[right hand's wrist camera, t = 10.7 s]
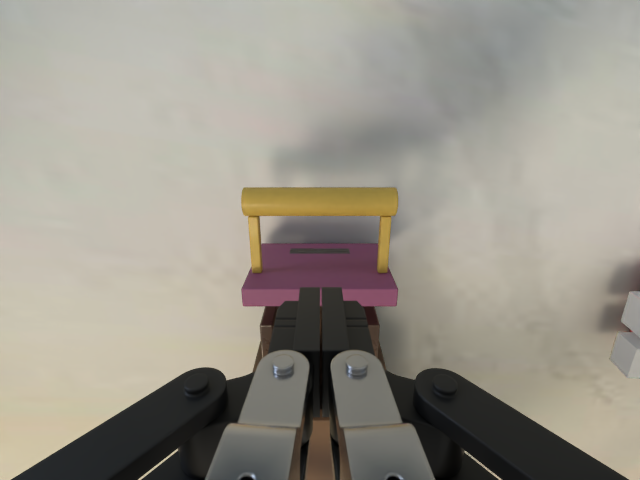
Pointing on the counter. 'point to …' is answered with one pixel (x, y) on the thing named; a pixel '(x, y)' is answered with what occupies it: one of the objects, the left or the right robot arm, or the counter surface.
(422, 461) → the right robot arm
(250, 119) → the counter surface
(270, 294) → the drawer
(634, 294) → the toy
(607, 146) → the counter surface
